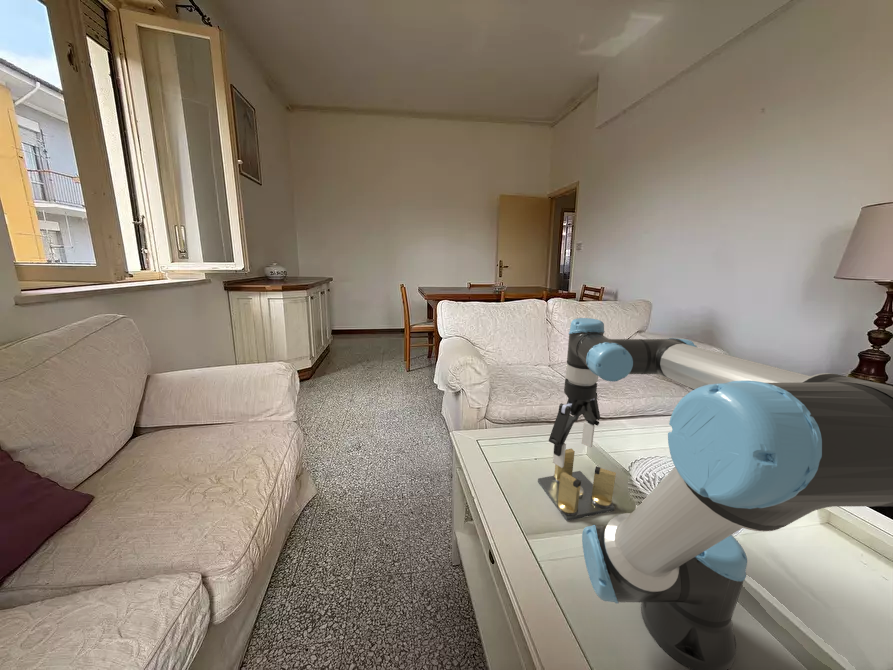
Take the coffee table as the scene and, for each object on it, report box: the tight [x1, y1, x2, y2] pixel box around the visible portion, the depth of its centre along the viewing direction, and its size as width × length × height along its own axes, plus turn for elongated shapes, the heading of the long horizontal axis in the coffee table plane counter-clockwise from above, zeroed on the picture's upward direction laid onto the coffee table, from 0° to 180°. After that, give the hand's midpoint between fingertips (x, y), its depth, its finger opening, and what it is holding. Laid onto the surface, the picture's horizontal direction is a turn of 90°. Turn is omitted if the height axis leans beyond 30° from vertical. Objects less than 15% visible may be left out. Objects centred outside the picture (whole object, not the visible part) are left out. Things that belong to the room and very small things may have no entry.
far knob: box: [553, 448, 576, 482], centre depth 105 cm, size 5×5×10 cm
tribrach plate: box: [537, 470, 615, 522], centre depth 102 cm, size 17×17×2 cm
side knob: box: [592, 466, 617, 506], centre depth 96 cm, size 5×5×10 cm
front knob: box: [558, 472, 581, 514], centre depth 94 cm, size 5×5×10 cm
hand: (573, 454), depth 91 cm, fingers open, 13 cm apart
